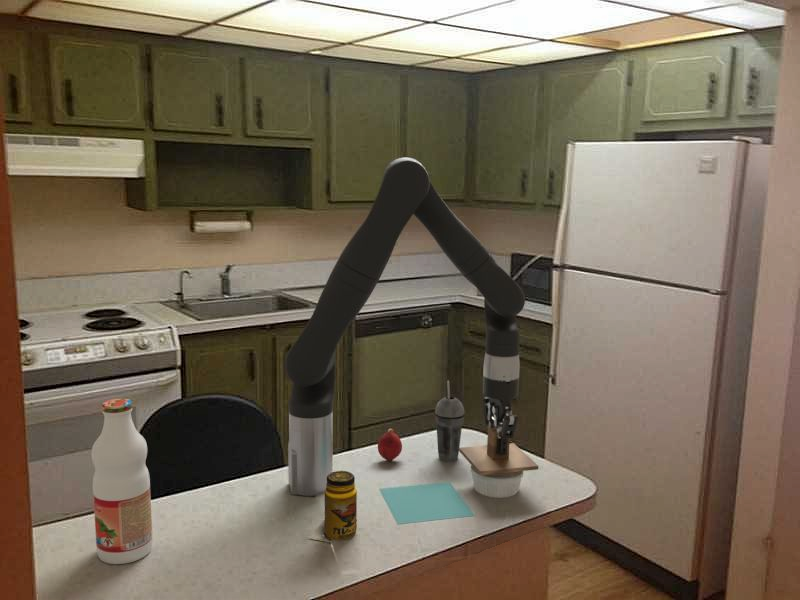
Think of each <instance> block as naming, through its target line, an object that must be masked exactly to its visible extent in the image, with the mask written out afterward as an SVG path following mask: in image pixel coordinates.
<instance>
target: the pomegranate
mask: <svg viewBox="0 0 800 600" xmlns="http://www.w3.org/2000/svg"><path fill="white" fill-rule="evenodd" d="M402 443H403V442H402V440H401V438H400V437H399V435H397V434H396V433H395V432H394V429H392V428H389V429H388V430H387V431H386V433H383V435H381V436H380V438H379V440H378V442H377V450H378V454H379V455H380V457H382V458H383V459H384V460H385V461H387V462H392V461H393V460H395V459H396V458H397V457H398V456H400V454H401V453H402V450H403V444H402Z"/></svg>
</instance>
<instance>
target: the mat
mask: <svg viewBox="0 0 800 600" xmlns="http://www.w3.org/2000/svg"><path fill="white" fill-rule="evenodd" d="M378 489H379V492H380V493H381V495H382V498H383V499H384V501H385V503H386V505H387V507H388V509H389V511H390V512H391V514H392V516H393V518H394V520H395V522H396V523H397V525H405V524H412V523H423V522H432V521H433V522H434V521H441V520H450V519H457V518H466V517H476V515H475V513H474V512H473V511H472V509H471V508H470V507H469V505H468V504H467V502H466V501H465V500H464V499H463V498H462V496H461V495H460V494H459V492H458V491H457V490H456V488H455V487H454V486H453V484H452V483H451V481H445V482H436V483H434V482H433V483H424V484H414V485H403V486H394V487H385V488H378Z"/></svg>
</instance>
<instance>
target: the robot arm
mask: <svg viewBox="0 0 800 600" xmlns="http://www.w3.org/2000/svg"><path fill="white" fill-rule="evenodd" d="M412 216H415V217H416V218H417V219H418V220H419V221H420V223H421V224H422V225H423V226H424V227H425V229H426V230H427V231H428V233H429V234H430V235H431V236H432V238H433V240H435V242H436V243H437V244H438V246H439V248H440V249H441V250H442V252H443V253H444V254H445V256H446V257H447V258H448V259H449V261H450V262H451V263H452V264H453V265H454V266H455V268H456V269H457V270H458V271H459V273H460V274H461V275H462V276H463V277H464V278H465V279H466V280H467V281H468V282H469V283H471V284H472V285H473V286H474V287H475V288H476V289H477V290H478V291H479V293H480V294H481V296H483V297H484V298H483V299H484V301H483V302H484V303H483V304H484V318H485V319H484V320H485V324H486V325H485V326H486V335H485V353H484V358H483V359H484V361H483V375H482V394H483V395H484V396H485V397H483V399H482V401H483V411H484V423H485V425H486V426H487V429H488V428H492V427H496V428H497V450H496V453H497V454H498V455H506V454H507V445H508V439H509V438H510V440H511V439H514V437H515V436H514V435H515V432H516V431H515V430H516V428H517V423H518V415H516V414H513V413H512V412H513V407H512V400H514V399H516V398H517V397H518V396H519V387H520V384H519V383H520V367H521V366H520V365H521V364H520V363H521V362H520V341H521V340H520V330H519V328H518V326H517V315H518V314H520V313H521V312H522V311H523V309H524V307H525V303H526V297H525V293H524V291H523V289H522V288H521V286H520V285H519V284H518V283H517V282H516V281H515V280H514V279H513V278H512V277H511V276H510V275H509V274H508V273H507V271H505V269H503V268H502V267H501V266H500V265H499V264H498V262H497V261H496V260H495V258H494V257H493V255H492V254H491V253H490V251H488V249H487V248H486V247H485V246H484V245H483V243H482V242H481V241H480V240H479V239H478V238H477V237H476V236H475V234H474V233H473V232H472V231H471V230H470V229H469V228H468V227H467V226H466V225H465V224H464V223H463V221H461V220H460V219H459V218H458V217H457V215H456V214H455V213H454V212H453V211H452V210H451V209H450V207H449V206H448V205H447V204H446V203H445V201H444V200H443V199H442V197H441V195H440V194H439V193H438V191H437V190H436V188H435V187H434V185H433V183H432V181H431V180H430V176H429V173H428V171H427V169H426V168H425V166H424V165H423V164H422V163H421V162H420V161H418V159H415V158H412V157H403V156H402V157H398V158H396V159H394V160H392V161H391V162H389V163H388V165H386V168H385V170H384V171H383V175H382V181H381V183H380V187H379V189H378V192H377V195H376V197H375V199H374V201H373V204H372V206H371V208H370V211H369V213H368V215H367V217H366V218H365V220H364V221H363V222H362V224H361V225H360V226H359V228H358V229H357V230H356V232H355V233H354V234H353V235H352V237H351V238H350V239H349V241H348V242H347V244H346V246H345V247H344V249H343V250H342V252H341V253H340V255H339V257H338V259H337V261H336V263H335V265H334V267H333V268H332V271H331V272H330V273H329V274H330V275H329V277H328V279H327V281H326V282H325V284H324V288H323V289H322V291H321V294H320V296H319V298H318V301H317V303H316V304H315V305H316V306H315V308H314V310H313V312H312V315H311V316H310V319H309V320H308V322H307V323H306V325H305V326H304V329H303V330H302V332H301V333H300V335H299V336H298V337H297V339H296V340H295V342H294V343H293V344H292V346H291V347H290V348H289V350H288V351H287V353H286V356H285V360H284V369H285V374H286V375H287V377H288V379H289V380H290V381H291V382H292V388H291V392H290V397H289V400H288V425H289V426H288V432H289V435H288V436H289V439H288V443H287V447H288V448H287V449H288V452H287V453H288V454H287V455H288V456H287V457H288V458H287V459H288V460H287V462H288V470H287V471H288V472H287V473H288V485H289V490H290V494H291V495H298V496H303V497H304V496H306V497H313V496H317V495H319V494H325V489H326V484H327V476H328V475H329V474H330V473H332V472H334V471H333V465H334V464H333V458H334V457H333V456H334V455H333V445H334V444H333V438H334V437H333V432H334V431H333V422H334V421H333V417H334V416H333V414H334V413H333V409H334V408H333V407H334V406H333V405H334V404H333V403H334V398H335V394H336V393H335V390H336V388H335V387H336V355H335V351H336V349H337V346H338V345H339V342H340V341H341V338H342V337H343V335H344V333H345V332H346V330H347V329H348V327H349V326H350V325H351V323H352V322H353V321H354V320H355V318H356V317H357V316H358V314H359V313H360V312H361V310H362V309H363V307H364V306H365V305H366V303H367V301H368V300H369V298H370V297H371V295H372V293H373V292H374V289H375V288H376V286H377V285H378V283H379V280H380V278H381V277H382V275H383V273H384V271H385V269H386V267H387V265H388V263H389V261H390V258H391V257H392V253H393V251H394V248H395V247H396V243H397V241H398V240H399V237H400V236H401V234H402V231H404V228H405V227H406V225H407V224H408V222H409V221H410V220H411V218H412ZM501 428H502V430H501Z"/></svg>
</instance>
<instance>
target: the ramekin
mask: <svg viewBox="0 0 800 600" xmlns="http://www.w3.org/2000/svg"><path fill="white" fill-rule="evenodd" d="M470 465H471V464H470ZM470 472H471V475H472V484H473V488H474V490H475V491H476V492H477V493H479V494H480V495H483V496H486V497H490V498H495V499H498V498H499V499H501V498H503V499H504V498H509V497H513V496H515V495H516V494H517V493H518V492H519V489H520V486H521V481H522V478H523V477H524V471H517V472H507V473H497V474H486V475H480V474H479V473H478V472H477V471H476V470H475V469H474V467H473V466H472V465H471V466H470Z"/></svg>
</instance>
